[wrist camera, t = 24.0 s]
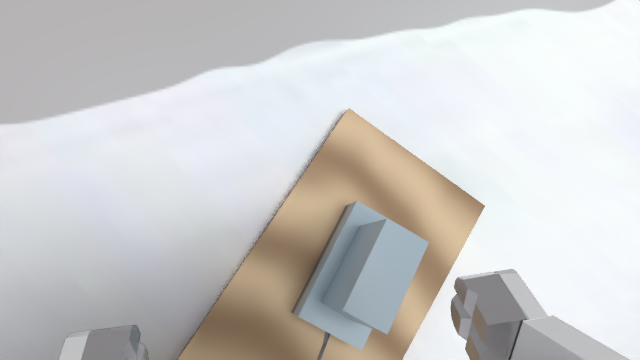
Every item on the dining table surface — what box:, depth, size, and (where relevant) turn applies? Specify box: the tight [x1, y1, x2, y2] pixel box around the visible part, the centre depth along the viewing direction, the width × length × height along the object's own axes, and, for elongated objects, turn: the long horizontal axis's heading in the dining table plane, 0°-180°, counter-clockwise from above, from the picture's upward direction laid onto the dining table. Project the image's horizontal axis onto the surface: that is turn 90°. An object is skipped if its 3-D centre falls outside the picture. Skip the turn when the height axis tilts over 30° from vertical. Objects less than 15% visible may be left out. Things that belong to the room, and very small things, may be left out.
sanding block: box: [291, 201, 429, 351], centre depth 32 cm, size 9×5×8 cm, turn 152°
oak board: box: [177, 108, 485, 360], centre depth 36 cm, size 26×14×2 cm, turn 146°
